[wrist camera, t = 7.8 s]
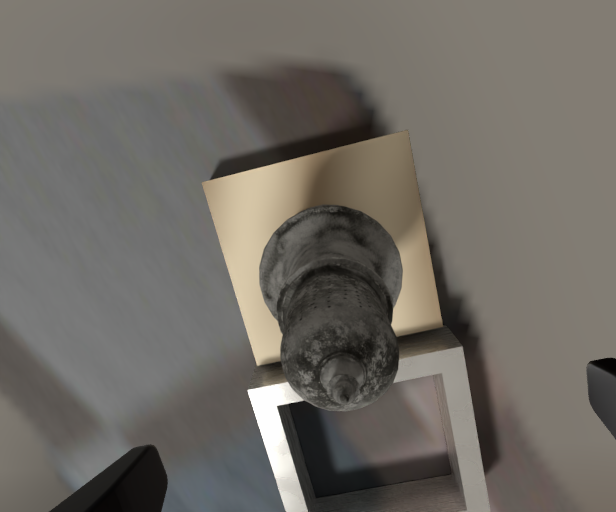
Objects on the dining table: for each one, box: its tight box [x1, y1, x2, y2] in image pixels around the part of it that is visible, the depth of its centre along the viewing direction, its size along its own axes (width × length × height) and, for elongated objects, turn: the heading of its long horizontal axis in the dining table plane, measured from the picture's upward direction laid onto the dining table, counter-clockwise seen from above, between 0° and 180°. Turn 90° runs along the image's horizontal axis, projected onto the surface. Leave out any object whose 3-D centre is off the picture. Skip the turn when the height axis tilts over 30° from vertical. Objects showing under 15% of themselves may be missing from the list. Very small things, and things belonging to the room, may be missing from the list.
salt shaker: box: [259, 204, 403, 411], centre depth 13 cm, size 6×6×12 cm
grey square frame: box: [248, 325, 490, 512], centre depth 21 cm, size 11×11×2 cm
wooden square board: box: [202, 130, 443, 366], centre depth 20 cm, size 10×10×1 cm
